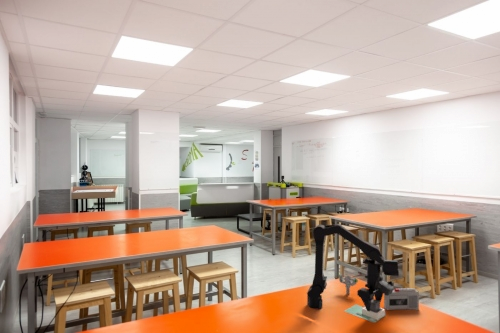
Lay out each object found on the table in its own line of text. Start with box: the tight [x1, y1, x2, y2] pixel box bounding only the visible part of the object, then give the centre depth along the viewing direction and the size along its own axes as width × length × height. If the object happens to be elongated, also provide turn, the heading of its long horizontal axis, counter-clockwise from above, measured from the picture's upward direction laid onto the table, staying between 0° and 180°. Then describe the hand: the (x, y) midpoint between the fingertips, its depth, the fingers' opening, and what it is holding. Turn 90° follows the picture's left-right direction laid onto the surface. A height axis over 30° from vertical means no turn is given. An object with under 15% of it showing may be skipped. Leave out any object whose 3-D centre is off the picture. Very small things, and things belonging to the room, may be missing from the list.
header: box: [362, 306, 386, 321], centre depth 146 cm, size 8×7×3 cm
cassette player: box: [383, 287, 420, 311], centre depth 152 cm, size 16×3×10 cm, turn 94°
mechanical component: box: [338, 274, 359, 295], centre depth 169 cm, size 3×10×10 cm, turn 43°
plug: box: [370, 298, 381, 313], centre depth 146 cm, size 4×4×6 cm
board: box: [343, 304, 387, 324], centre depth 147 cm, size 15×11×1 cm
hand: (373, 308), depth 146 cm, fingers open, 9 cm apart
